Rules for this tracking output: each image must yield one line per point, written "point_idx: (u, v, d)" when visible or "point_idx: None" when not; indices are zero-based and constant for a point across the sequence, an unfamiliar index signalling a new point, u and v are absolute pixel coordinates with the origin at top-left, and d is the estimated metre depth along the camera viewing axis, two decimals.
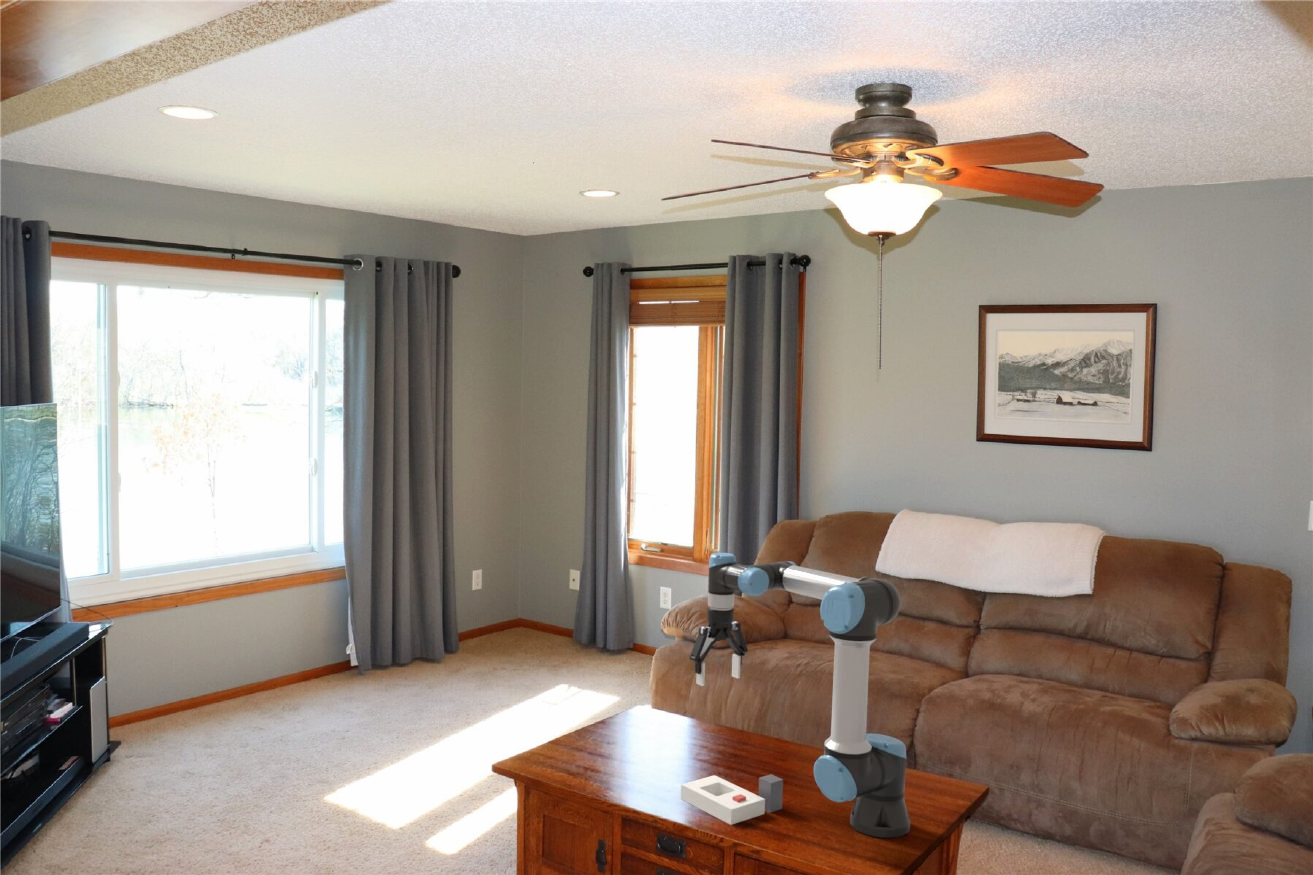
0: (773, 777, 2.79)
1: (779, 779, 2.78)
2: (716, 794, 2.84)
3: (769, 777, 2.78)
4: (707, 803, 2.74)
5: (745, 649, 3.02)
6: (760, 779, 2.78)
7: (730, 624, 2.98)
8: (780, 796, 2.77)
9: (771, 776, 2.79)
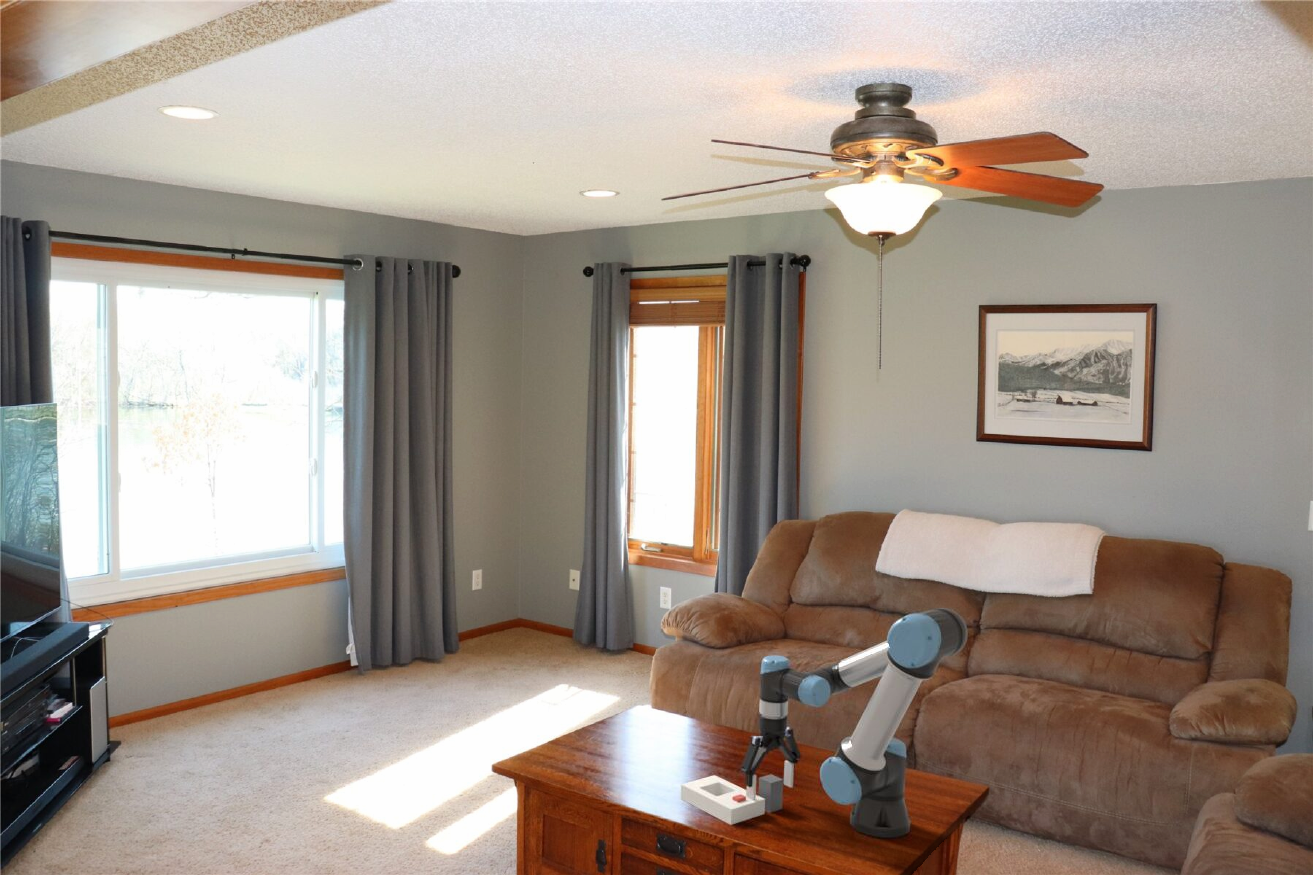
0: (773, 777, 2.79)
1: (779, 779, 2.78)
2: (716, 794, 2.84)
3: (769, 777, 2.78)
4: (707, 803, 2.74)
5: (798, 756, 2.83)
6: (760, 779, 2.78)
7: (783, 732, 2.78)
8: (780, 796, 2.77)
9: (771, 776, 2.79)
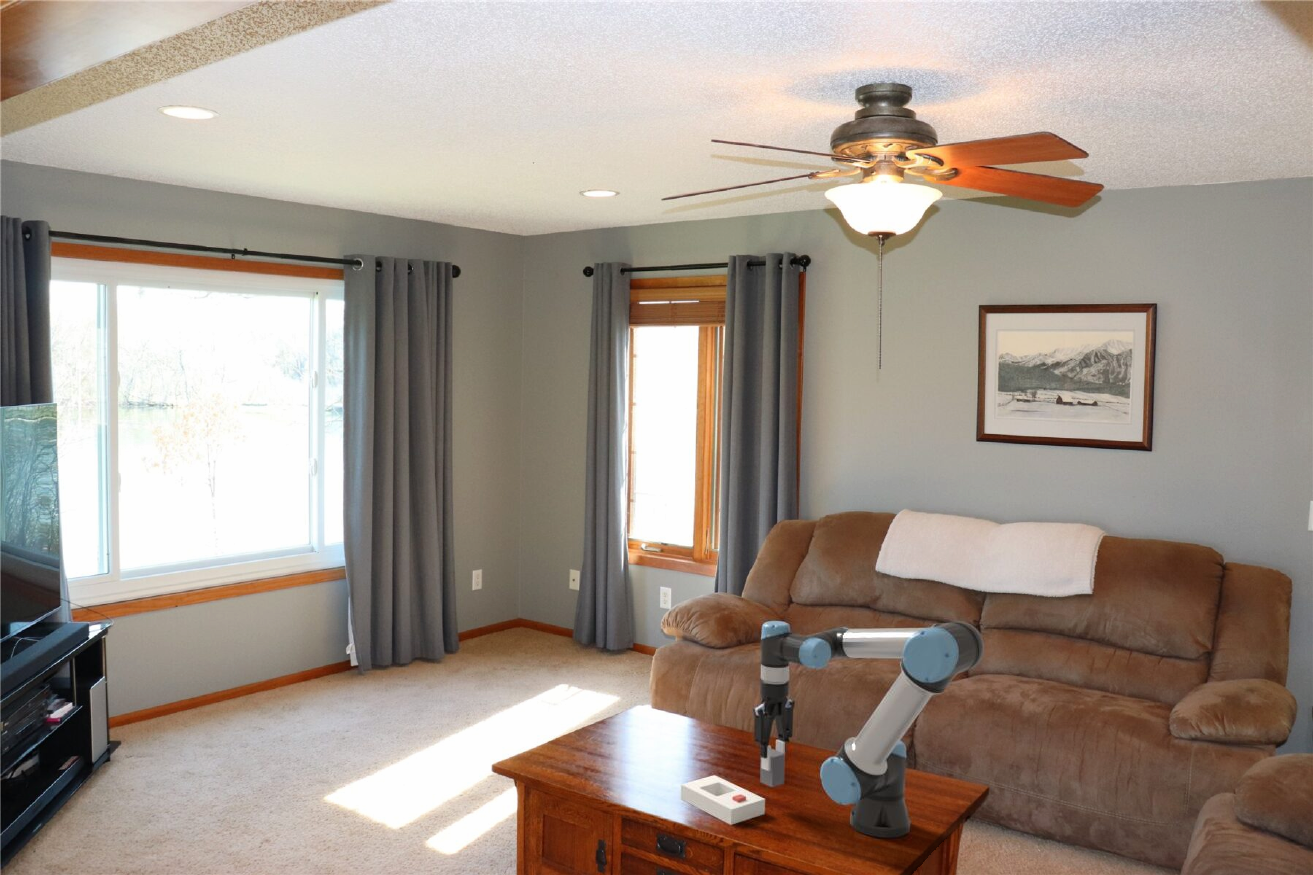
0: (774, 752, 2.78)
1: (781, 753, 2.77)
2: (716, 794, 2.84)
3: None
4: (707, 803, 2.74)
5: (790, 734, 2.79)
6: None
7: (786, 698, 2.78)
8: (782, 770, 2.77)
9: (773, 751, 2.79)
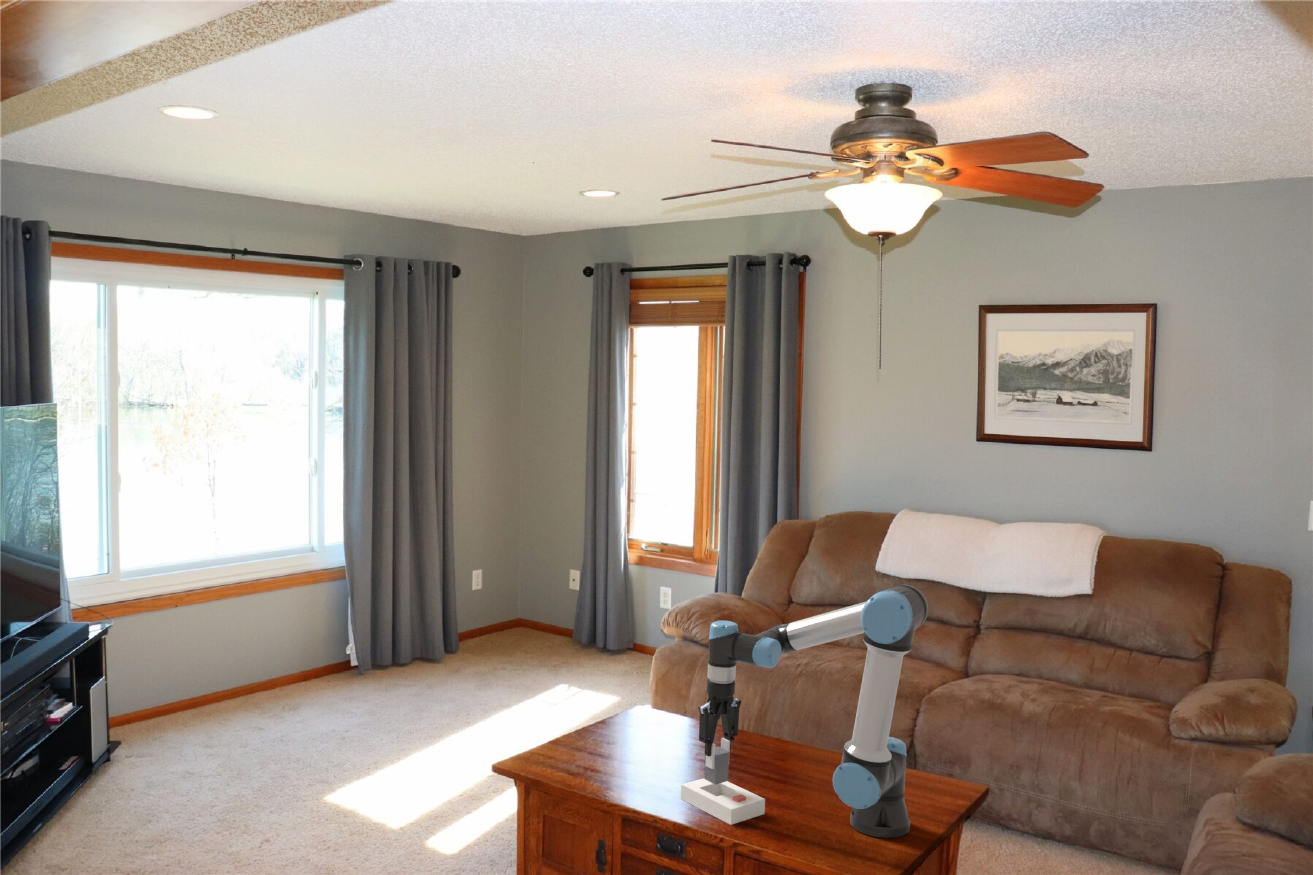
0: (719, 749, 2.80)
1: (725, 751, 2.79)
2: (716, 794, 2.84)
3: (715, 750, 2.80)
4: (707, 803, 2.74)
5: (735, 732, 2.81)
6: None
7: (732, 697, 2.80)
8: (726, 768, 2.79)
9: (718, 748, 2.81)
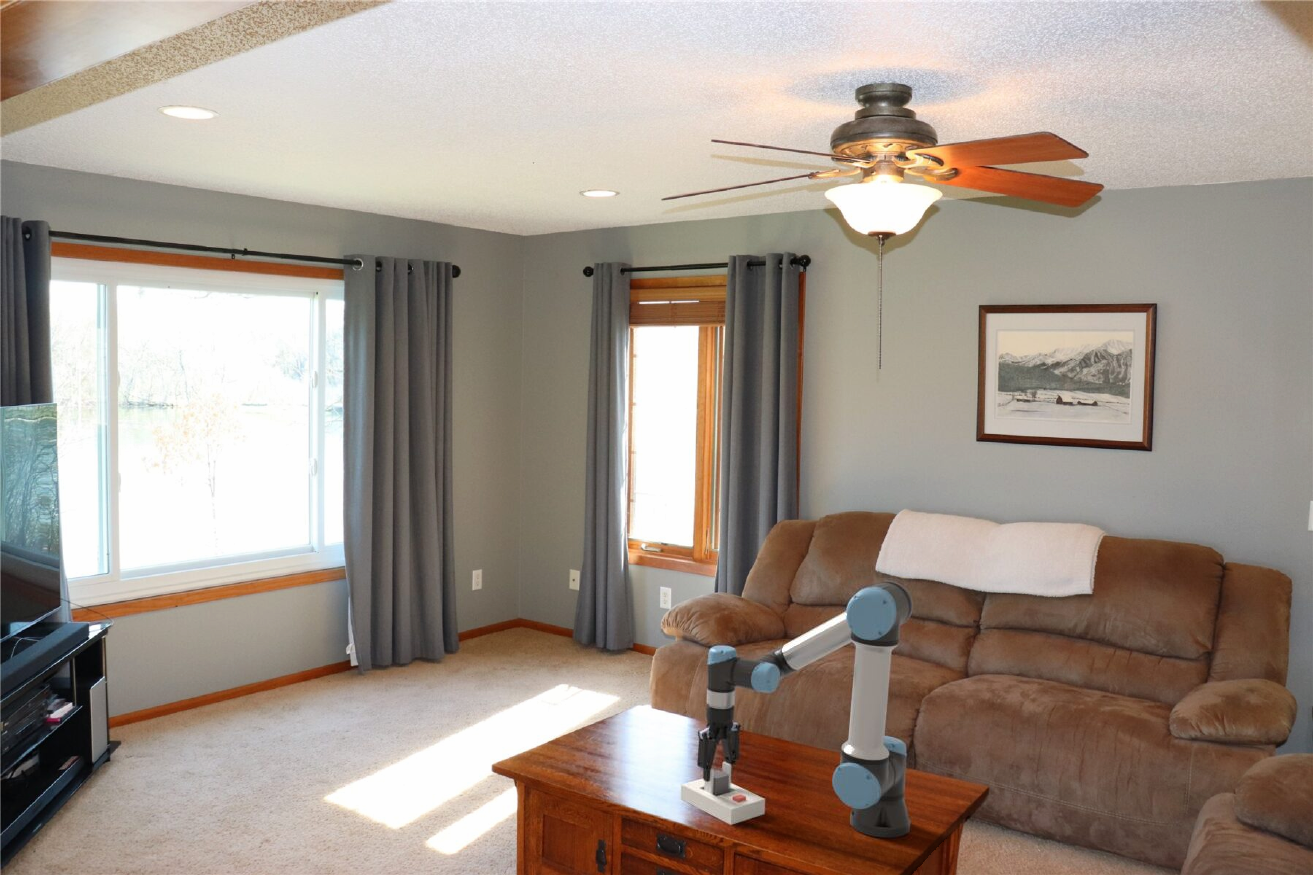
0: (719, 772, 2.81)
1: (725, 774, 2.80)
2: None
3: (715, 773, 2.80)
4: (707, 803, 2.74)
5: (737, 756, 2.82)
6: None
7: (731, 722, 2.80)
8: (726, 791, 2.79)
9: (717, 772, 2.82)
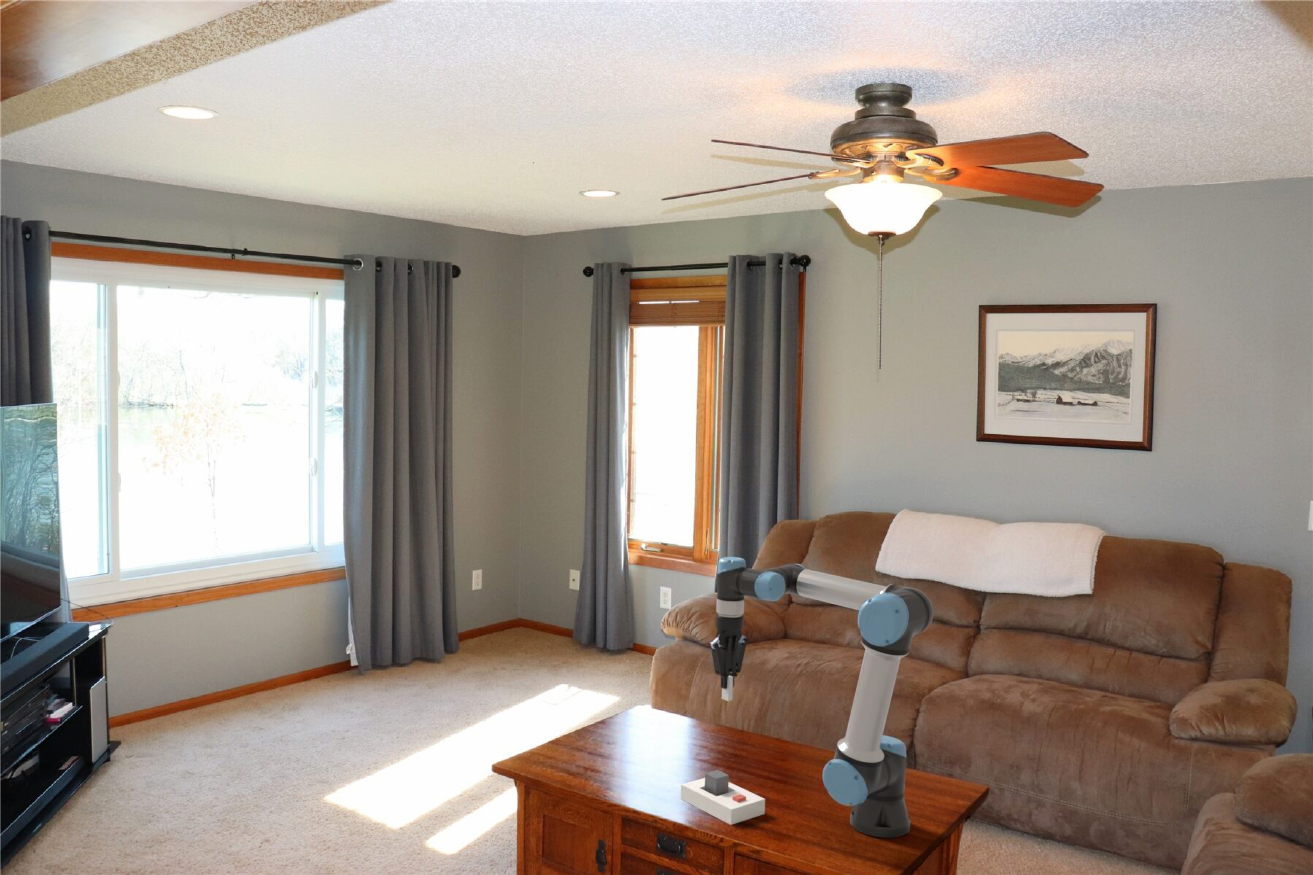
0: (719, 772, 2.81)
1: (725, 774, 2.80)
2: None
3: (715, 773, 2.80)
4: (707, 803, 2.74)
5: (738, 669, 2.86)
6: (706, 774, 2.80)
7: (741, 632, 2.86)
8: (726, 791, 2.79)
9: (717, 772, 2.81)
